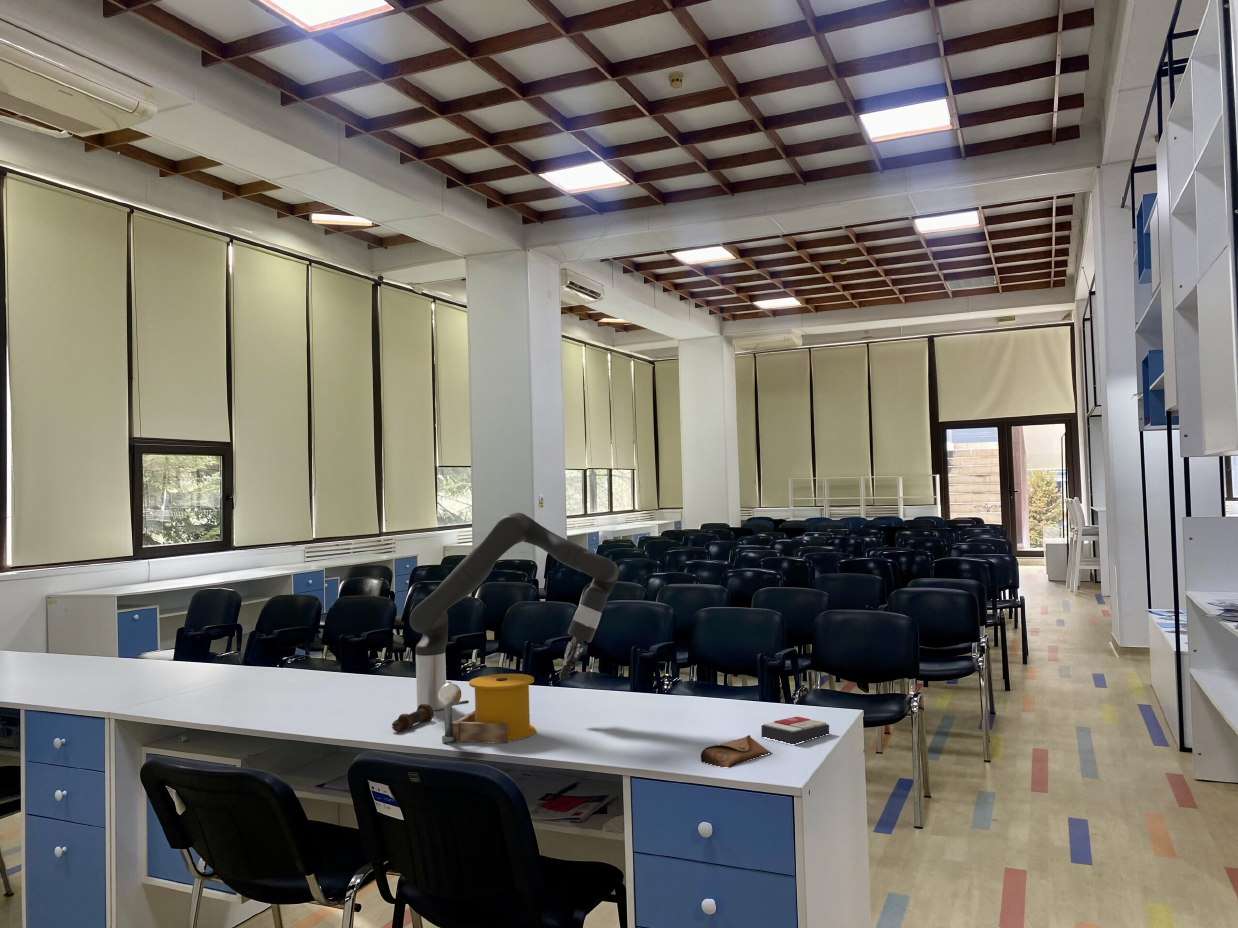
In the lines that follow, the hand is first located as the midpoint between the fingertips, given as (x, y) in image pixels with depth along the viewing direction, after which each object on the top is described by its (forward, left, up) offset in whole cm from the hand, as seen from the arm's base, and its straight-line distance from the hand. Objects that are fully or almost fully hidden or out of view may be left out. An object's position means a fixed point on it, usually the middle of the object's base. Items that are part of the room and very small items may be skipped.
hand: (562, 678), depth 261 cm
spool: (+14, -14, -12) cm, 24 cm away
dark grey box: (+14, +66, -13) cm, 69 cm away
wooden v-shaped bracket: (+20, -21, -12) cm, 32 cm away
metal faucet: (+24, -25, -12) cm, 36 cm away
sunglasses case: (+34, +52, -13) cm, 64 cm away
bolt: (+8, -44, -13) cm, 46 cm away
